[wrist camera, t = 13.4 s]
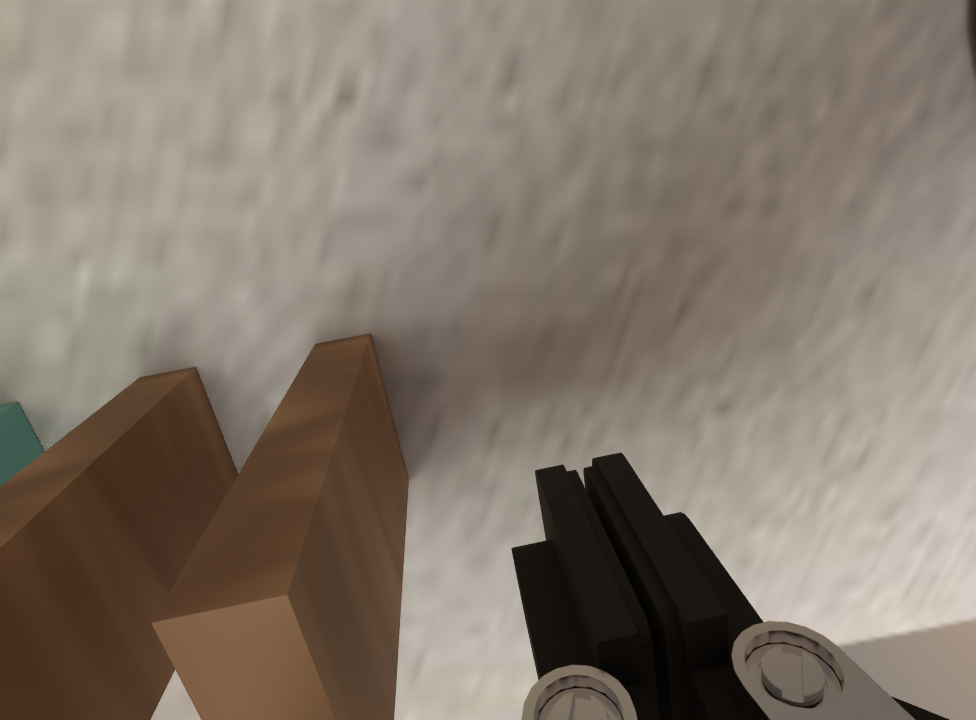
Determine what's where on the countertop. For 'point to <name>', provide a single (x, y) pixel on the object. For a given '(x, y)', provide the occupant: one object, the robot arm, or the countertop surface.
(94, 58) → the countertop surface
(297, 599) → the domino
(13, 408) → the domino
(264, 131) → the countertop surface
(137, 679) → the domino
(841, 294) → the countertop surface
